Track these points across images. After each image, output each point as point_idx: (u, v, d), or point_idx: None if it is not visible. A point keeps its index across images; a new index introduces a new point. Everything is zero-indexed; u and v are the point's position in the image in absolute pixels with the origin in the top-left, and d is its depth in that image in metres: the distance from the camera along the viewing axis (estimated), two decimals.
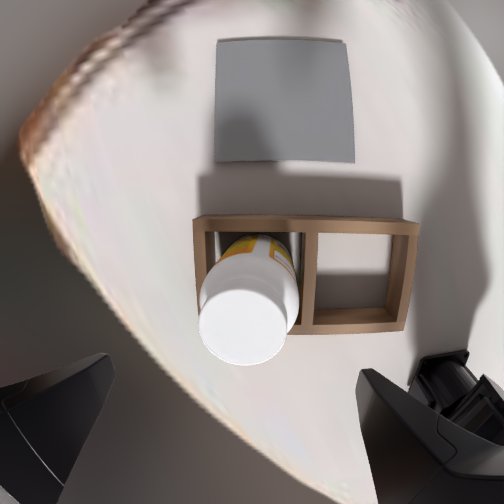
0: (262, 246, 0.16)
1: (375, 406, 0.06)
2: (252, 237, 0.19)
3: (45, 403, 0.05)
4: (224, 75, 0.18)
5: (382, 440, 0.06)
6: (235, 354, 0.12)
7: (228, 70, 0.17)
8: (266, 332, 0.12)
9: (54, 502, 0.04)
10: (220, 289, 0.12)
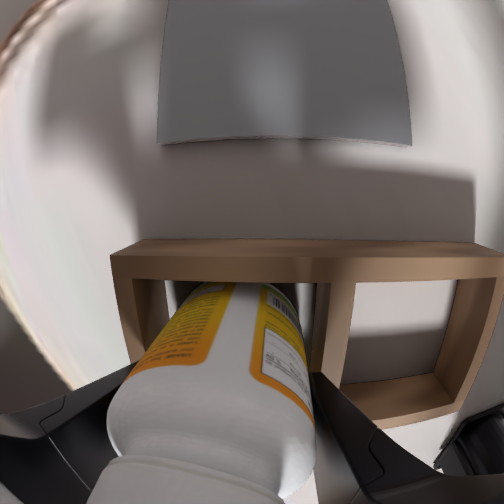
0: (238, 324, 0.07)
1: (315, 411, 0.06)
2: (224, 287, 0.10)
3: (88, 421, 0.05)
4: (182, 6, 0.08)
5: (320, 447, 0.06)
6: None
7: None
8: None
9: None
10: (110, 493, 0.03)
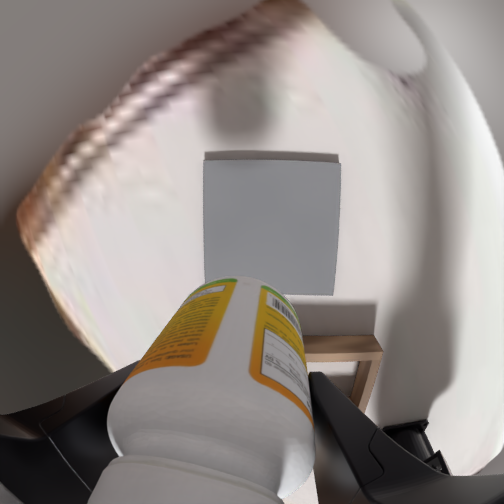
0: (237, 325, 0.07)
1: (315, 411, 0.06)
2: (224, 288, 0.10)
3: (88, 420, 0.05)
4: (212, 203, 0.20)
5: (320, 448, 0.06)
6: None
7: (216, 197, 0.20)
8: None
9: None
10: (111, 493, 0.03)
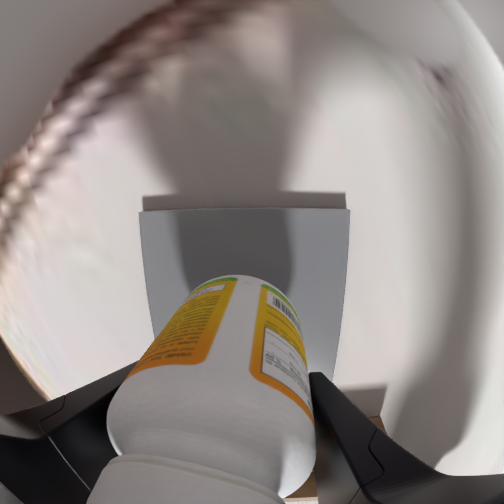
0: (238, 324, 0.07)
1: (315, 411, 0.06)
2: (224, 286, 0.10)
3: (88, 421, 0.05)
4: (156, 275, 0.14)
5: (320, 448, 0.06)
6: None
7: (160, 267, 0.13)
8: None
9: None
10: (110, 492, 0.03)
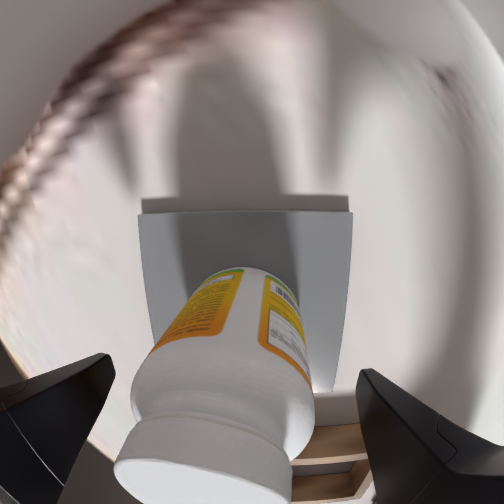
0: (247, 306, 0.08)
1: (375, 406, 0.06)
2: (232, 276, 0.11)
3: (45, 403, 0.05)
4: (156, 278, 0.13)
5: (382, 440, 0.06)
6: None
7: (160, 271, 0.13)
8: None
9: (54, 502, 0.04)
10: (141, 445, 0.04)
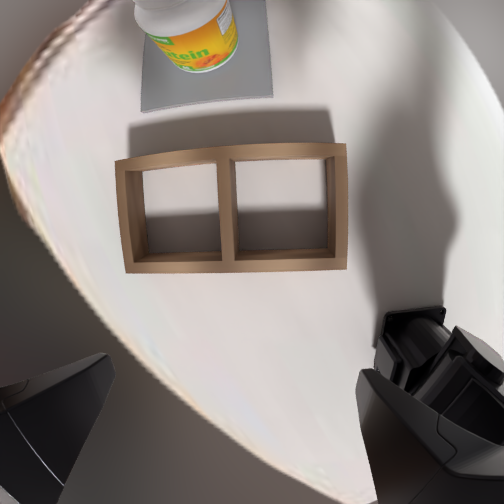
0: None
1: (375, 406, 0.06)
2: None
3: (45, 403, 0.05)
4: None
5: (382, 440, 0.06)
6: None
7: None
8: None
9: (54, 502, 0.04)
10: None
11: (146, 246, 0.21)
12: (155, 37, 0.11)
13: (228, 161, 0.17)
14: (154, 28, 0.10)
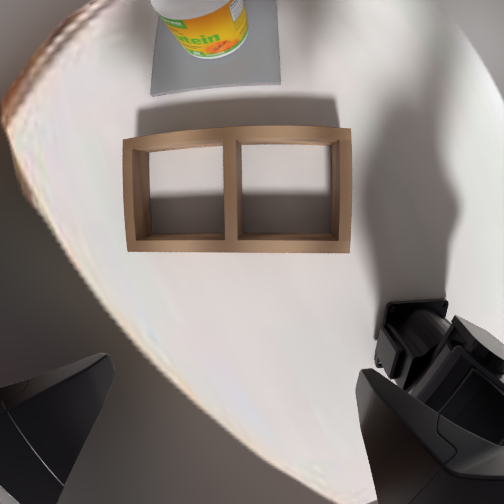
0: None
1: (375, 406, 0.06)
2: None
3: (46, 403, 0.05)
4: (164, 26, 0.17)
5: (382, 440, 0.06)
6: None
7: None
8: None
9: (54, 502, 0.04)
10: None
11: (149, 226, 0.21)
12: (169, 20, 0.11)
13: (235, 141, 0.17)
14: (169, 10, 0.10)
